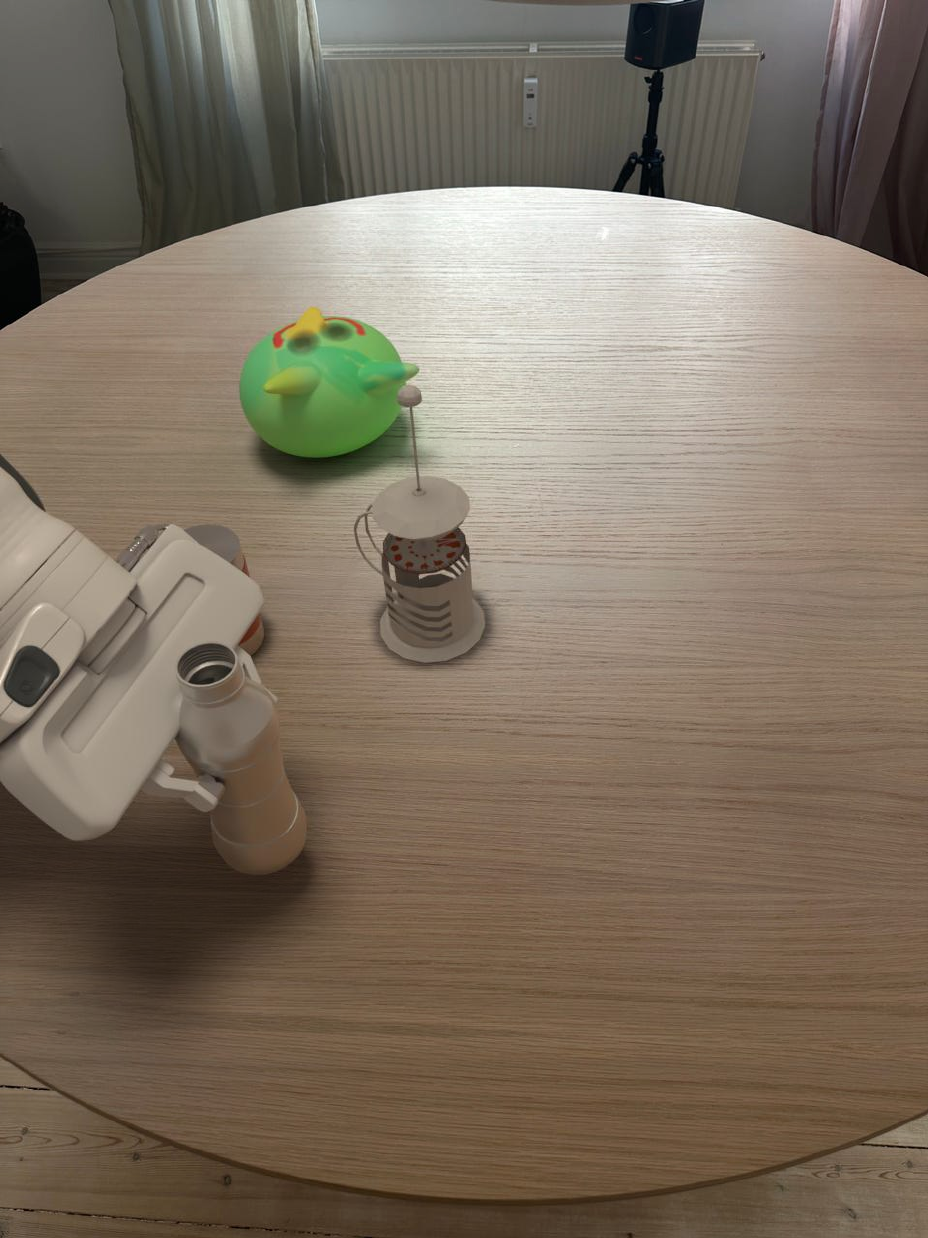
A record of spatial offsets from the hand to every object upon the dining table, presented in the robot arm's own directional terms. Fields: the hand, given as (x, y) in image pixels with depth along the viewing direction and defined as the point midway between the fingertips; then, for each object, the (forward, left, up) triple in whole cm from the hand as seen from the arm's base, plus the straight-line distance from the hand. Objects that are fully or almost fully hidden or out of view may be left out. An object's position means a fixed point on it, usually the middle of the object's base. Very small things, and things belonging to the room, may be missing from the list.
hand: (243, 756), depth 63 cm
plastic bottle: (-1, 0, -12) cm, 12 cm away
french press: (+11, +25, -14) cm, 31 cm away
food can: (-7, +24, -14) cm, 29 cm away
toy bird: (+1, +54, -14) cm, 56 cm away
